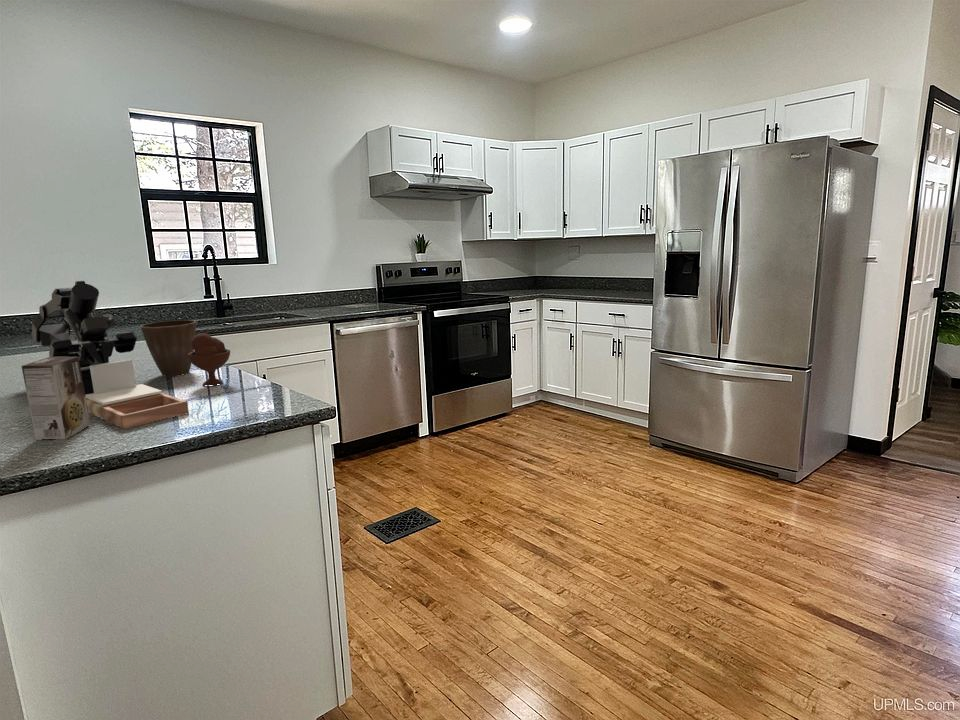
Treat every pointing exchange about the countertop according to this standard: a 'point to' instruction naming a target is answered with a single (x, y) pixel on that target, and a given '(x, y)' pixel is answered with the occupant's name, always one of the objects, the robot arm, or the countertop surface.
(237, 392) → the countertop surface
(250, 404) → the countertop surface
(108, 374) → the white l-shaped piece
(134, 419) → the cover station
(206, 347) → the ice cream bowl
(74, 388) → the coffee box
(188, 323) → the plant pot
